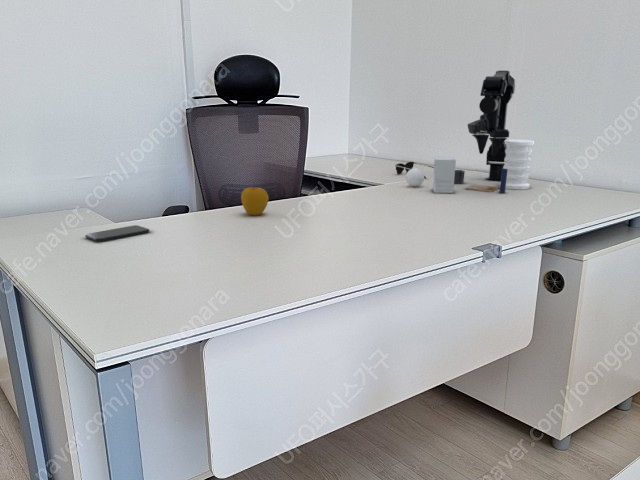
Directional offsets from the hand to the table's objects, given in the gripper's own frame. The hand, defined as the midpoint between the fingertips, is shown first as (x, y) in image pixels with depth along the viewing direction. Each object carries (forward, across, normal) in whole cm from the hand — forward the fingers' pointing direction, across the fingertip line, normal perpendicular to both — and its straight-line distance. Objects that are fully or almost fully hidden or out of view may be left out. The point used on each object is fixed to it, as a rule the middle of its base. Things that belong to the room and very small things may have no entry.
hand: (487, 155), depth 226 cm
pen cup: (+14, -19, -2) cm, 23 cm away
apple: (+14, +21, -93) cm, 96 cm away
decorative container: (+14, -4, +16) cm, 22 cm away
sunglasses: (+14, -41, -10) cm, 44 cm away
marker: (+14, +6, +4) cm, 15 cm away
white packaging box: (+14, -2, -16) cm, 21 cm away
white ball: (+14, -16, -23) cm, 31 cm away
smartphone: (+14, +38, -134) cm, 140 cm away
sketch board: (+14, -4, +2) cm, 14 cm away
